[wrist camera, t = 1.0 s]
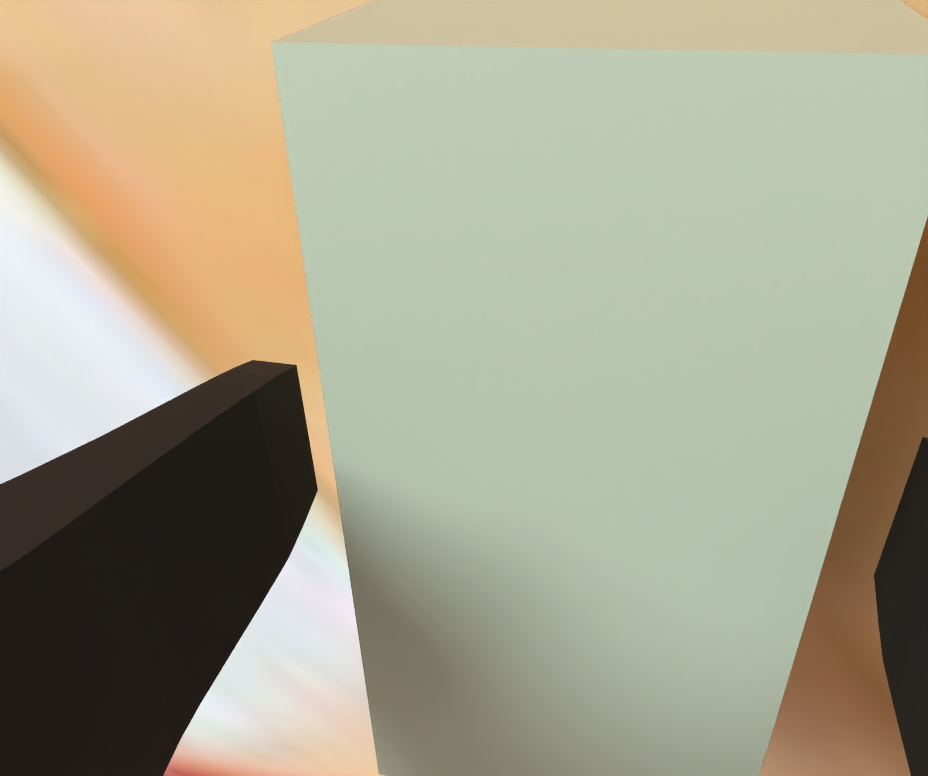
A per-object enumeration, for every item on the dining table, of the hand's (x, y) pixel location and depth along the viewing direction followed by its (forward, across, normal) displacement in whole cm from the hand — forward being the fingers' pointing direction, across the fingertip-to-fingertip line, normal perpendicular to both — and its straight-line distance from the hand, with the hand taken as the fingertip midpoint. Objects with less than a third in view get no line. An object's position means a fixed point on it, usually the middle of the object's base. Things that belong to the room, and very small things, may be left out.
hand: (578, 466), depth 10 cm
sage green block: (+4, 0, 0) cm, 4 cm away
